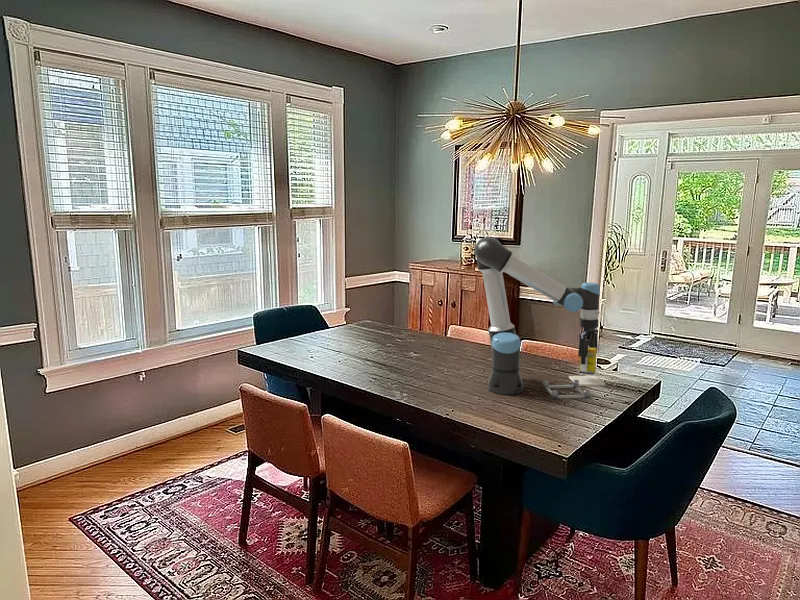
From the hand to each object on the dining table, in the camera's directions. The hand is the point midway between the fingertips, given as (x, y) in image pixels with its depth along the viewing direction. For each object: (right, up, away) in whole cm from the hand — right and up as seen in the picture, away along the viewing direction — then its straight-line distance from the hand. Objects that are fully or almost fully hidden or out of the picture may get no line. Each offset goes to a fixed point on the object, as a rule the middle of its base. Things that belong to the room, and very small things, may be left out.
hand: (587, 369), depth 242 cm
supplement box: (0, -2, 0) cm, 2 cm away
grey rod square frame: (-14, -8, -13) cm, 21 cm away
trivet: (0, -6, +1) cm, 6 cm away
